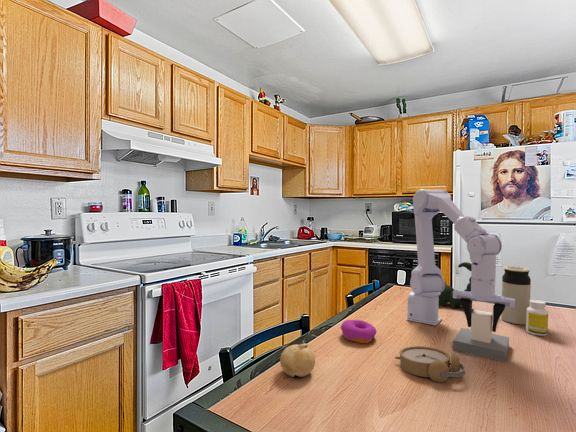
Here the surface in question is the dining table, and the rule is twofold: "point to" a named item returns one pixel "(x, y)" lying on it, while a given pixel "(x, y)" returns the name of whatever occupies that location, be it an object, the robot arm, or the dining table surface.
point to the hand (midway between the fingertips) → (481, 328)
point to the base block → (482, 345)
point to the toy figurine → (448, 290)
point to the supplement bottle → (537, 318)
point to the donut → (358, 331)
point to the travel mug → (516, 293)
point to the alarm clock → (430, 363)
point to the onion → (297, 360)
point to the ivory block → (481, 326)
